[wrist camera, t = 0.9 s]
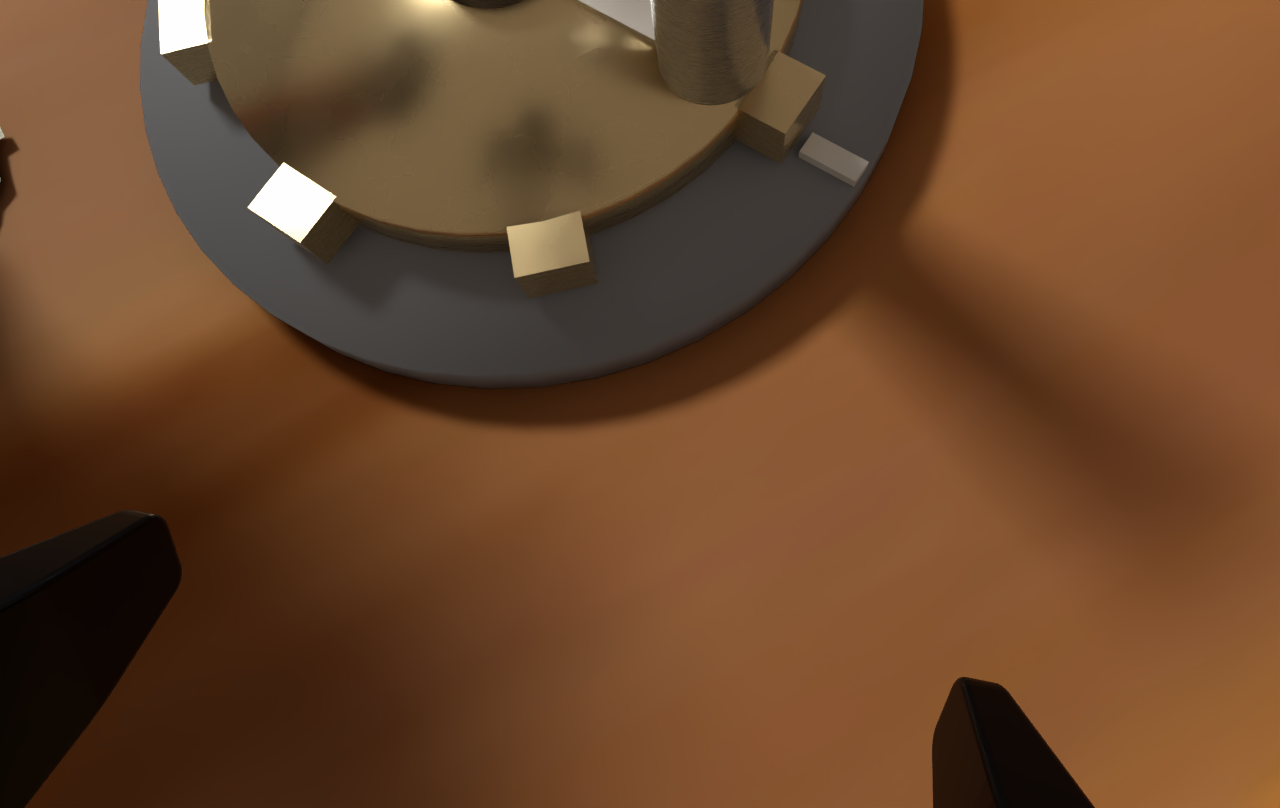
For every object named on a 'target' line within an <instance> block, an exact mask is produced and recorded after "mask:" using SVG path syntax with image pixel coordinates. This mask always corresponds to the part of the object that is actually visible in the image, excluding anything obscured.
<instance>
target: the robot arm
mask: <svg viewBox="0 0 1280 808" xmlns="http://www.w3.org/2000/svg"><path fill="white" fill-rule="evenodd" d="M181 576H182V567H181V563H180V560H179V557H178V554H177V551H176V548H175V545H174V542H173V539H172V536H171V533H170V530H169V527H168V525H167V523H166V521H165V520H164V519H163V518H162V517H161V516H159V515H156V514H151V513H146V512H141V511H136V510H122V511H119V512H116V513H113V514H111V515H108V516H106V517H103V518H101V519H98V520H95V521H93V522H90V523H88V524H85V525H82V526H80V527H77V528H75V529H72V530H70V531H67V532H64V533H62V534H59V535H57V536H54V537H52V538H49V539H46V540H44V541H41V542H39V543H36V544H33V545H31V546H28V547H26V548H23V549H21V550H18V551H15V552H13V553H10V554H8V555H5V556H3V557H0V808H25V806H26V805H27V804H28V802H29V801H30V800H31V799H32V797H33V796H34V795H35V793H36V792H37V791H38V790H39V788H40V787H41V786H42V784H43V783H44V782H45V780H46V779H47V778H48V777H49V775H50V774H51V773H52V771H53V770H54V769H55V767H56V766H57V765H58V764H59V762H60V761H61V760H62V758H63V757H64V756H65V755H66V753H67V752H68V751H69V749H70V748H71V747H72V745H73V744H74V743H75V742H76V740H77V739H78V738H79V736H80V735H81V734H82V732H83V731H84V730H85V729H86V727H87V726H88V725H89V723H90V722H91V721H92V719H93V718H94V716H95V715H96V714H97V712H98V711H99V710H100V708H101V707H102V705H103V704H104V702H105V701H106V699H107V698H108V696H109V695H110V693H111V692H112V690H113V689H114V688H115V686H116V684H117V683H118V681H119V680H120V678H121V677H122V675H123V673H124V672H125V670H126V669H127V667H128V666H129V664H130V662H131V661H132V659H133V658H134V656H135V655H136V653H137V651H138V650H139V648H140V647H141V645H142V644H143V642H144V640H145V639H146V637H147V636H148V634H149V633H150V631H151V629H152V628H153V626H154V625H155V623H156V622H157V620H158V618H159V617H160V615H161V614H162V612H163V611H164V609H165V607H166V606H167V604H168V603H169V601H170V600H171V598H172V596H173V595H174V593H175V592H176V590H177V588H178V586H179V583H180V581H181ZM932 770H933V808H1095V807H1094V806H1093V804H1092V803H1091V802H1090V800H1089V799H1088V798H1087V796H1086V795H1085V794H1084V792H1083V791H1082V790H1081V788H1080V787H1079V786H1078V784H1077V783H1076V782H1075V780H1074V779H1073V778H1072V776H1071V775H1070V774H1069V772H1068V771H1067V770H1066V768H1065V767H1064V766H1063V764H1062V763H1061V762H1060V760H1059V759H1058V758H1057V756H1056V755H1055V754H1054V752H1053V751H1052V750H1051V748H1050V747H1049V746H1048V744H1047V743H1046V742H1045V740H1044V739H1043V738H1042V736H1041V735H1040V734H1039V732H1038V731H1037V730H1036V728H1035V727H1034V726H1033V724H1032V723H1031V722H1030V720H1029V719H1028V718H1027V716H1026V715H1025V713H1024V712H1023V711H1022V709H1021V708H1020V707H1019V705H1018V704H1017V703H1016V701H1015V700H1014V699H1013V697H1012V696H1011V695H1010V693H1009V692H1008V691H1007V690H1006V689H1005V688H1004V687H1002V686H1001V685H999V684H997V683H993V682H988V681H983V680H978V679H973V678H968V677H961V678H958V679H957V680H956V681H955V683H954V684H953V686H952V688H951V691H950V693H949V696H948V698H947V701H946V703H945V705H944V708H943V710H942V713H941V715H940V718H939V720H938V722H937V725H936V728H935V731H934V736H933V745H932Z"/></svg>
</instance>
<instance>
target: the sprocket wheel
mask: <svg viewBox="0 0 1280 808" xmlns="http://www.w3.org/2000/svg"><path fill="white" fill-rule="evenodd" d="M158 1H159V25H160V50H161V55H162V56H163V57H164V58H165V59H166V60H168V61H169V62H170V63H171V64H172V65H173V66H174V67H175V68H176V69H177V70H178V71H179V72H180V73H181V74H182V75H183V76H185V77H186V78H187V79H188V80H189V81H190V82H191V83H192V84H193V85H194V86H195V85H199V84H203V83H207V82H211V81H216V80H218V81H219V83H220V85H221V87H222V89H223V91H224V93H225V96H226V98H227V100H228V102H229V104H230V106H231V108H232V110H233V111H234V113H235V114H236V116H237V117H238V119H239V120H240V121H241V123H242V124H243V126H244V127H245V129H246V130H247V132H248V133H249V134H250V136H251V137H252V138H253V139H254V141H255V142H256V143H257V144H258V145H259V146H260V147H261V148H262V149H263V150H264V151H265V152H266V153H267V154H268V155H269V156H270V157H271V158H272V159H273V160H274V161H275V162H276V163H277V164H278V165H279V166H280V168H279V169H278V170H277V171H276V173H275V174H274V175H273V176H272V178H271V179H270V180H269V181H268V183H267V184H266V185H265V186H264V188H263V189H262V190H261V191H260V193H259V194H258V195H257V196H256V198H255V199H254V200H253V201H252V203H251V204H250V205H249V206H248V208H249V209H250V210H251V211H253V212H254V213H255V214H256V215H258V216H259V217H260V218H261V219H263V220H264V221H265V222H266V223H268V224H269V225H270V226H272V227H273V228H274V229H275V230H277V231H278V232H279V233H281V234H282V235H284V236H285V237H287V238H288V239H290V240H291V241H293V242H294V243H296V244H297V245H299V246H300V247H302V248H303V249H305V250H306V251H308V252H309V253H311V254H312V255H314V256H315V257H317V258H318V259H320V260H321V261H323V262H324V263H326V264H327V265H328V264H329V262H330V261H331V260H332V258H333V257H334V256H335V255H336V253H337V252H338V251H339V249H340V248H341V247H342V246H343V244H344V243H345V242H346V240H347V239H348V238H349V237H350V235H351V234H352V233H353V231H354V230H355V229H356V227H357V226H358V225H359V226H361V227H363V228H365V229H368V230H371V231H373V232H376V233H379V234H381V235H384V236H387V237H389V238H392V239H395V240H397V241H401V242H406V243H410V244H414V245H419V246H423V247H428V248H432V249H438V250H449V251H459V252H470V253H486V252H510V253H511V259H512V265H513V272H514V278H515V279H516V281H517V282H518V284H519V285H520V287H521V288H522V290H523V291H524V293H525V294H526V295H527V297H528V298H533V297H537V296H542V295H547V294H551V293H556V292H561V291H565V290H570V289H574V288H579V287H584V286H588V285H593V284H598V277H597V272H596V267H595V261H594V256H593V250H592V245H591V240H590V235H593V234H596V233H599V232H601V231H603V230H606V229H608V228H611V227H613V226H615V225H618V224H620V223H623V222H625V221H627V220H630V219H632V218H634V217H636V216H638V215H640V214H642V213H643V212H645V211H647V210H649V209H650V208H652V207H654V206H656V205H657V204H659V203H661V202H663V201H664V200H666V199H668V198H670V197H671V196H673V195H674V194H675V193H677V192H678V191H679V190H681V189H682V188H683V187H685V186H686V185H687V184H689V183H690V182H692V181H693V180H694V179H696V178H697V177H698V176H700V175H701V174H702V173H704V172H705V171H706V170H707V169H708V168H709V167H710V166H711V165H712V164H713V163H714V162H715V161H716V160H717V159H718V158H719V157H720V156H722V155H723V154H724V153H725V152H726V151H727V150H728V149H729V148H730V147H731V146H732V145H733V144H734V143H735V142H736V140H738V141H740V142H742V143H743V144H745V145H747V146H749V147H751V148H753V149H754V150H756V151H758V152H760V153H762V154H764V155H766V156H767V157H769V158H771V159H773V160H775V161H777V162H778V163H780V164H782V162H783V161H784V159H785V158H786V156H787V155H788V153H789V152H790V151H791V149H792V148H793V146H794V145H795V143H796V142H797V140H798V139H799V138H800V136H801V135H802V133H803V132H804V130H805V129H806V127H807V126H808V125H809V123H810V122H811V120H812V119H813V117H814V116H815V114H816V113H817V112H818V110H819V108H820V103H821V98H822V93H823V88H824V83H825V78H826V75H824V74H822V73H820V72H818V71H816V70H814V69H812V68H810V67H808V66H807V65H805V64H803V63H801V62H799V61H797V60H795V59H793V58H791V57H789V54H790V52H791V50H792V47H793V44H794V40H795V36H796V33H797V29H798V25H799V21H800V18H801V14H802V8H803V1H804V0H158Z"/></svg>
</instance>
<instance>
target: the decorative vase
mask: <svg viewBox="0 0 1280 808" xmlns="http://www.w3.org/2000/svg"><path fill="white" fill-rule="evenodd" d="M3 137H5V136H4V134H3V132H2V130H1V128H0V139H2V138H3ZM0 182H1V179H0Z"/></svg>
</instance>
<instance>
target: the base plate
mask: <svg viewBox="0 0 1280 808" xmlns="http://www.w3.org/2000/svg"><path fill="white" fill-rule="evenodd" d="M923 3H924V0H804V1H803V8H802V14H801V18H800V21H799V25H798V29H797V33H796V36H795V40H794V44H793V47H792V50H791V52H790V54H789V57H791V58H793V59H795V60H797V61H799V62H801V63H803V64H805V65H807V66H808V67H810V68H812V69H814V70H816V71H818V72H820V73H822V74H824V75H826V78H825V83H824V88H823V93H822V98H821V103H820V108H819V110H818V112H817V113H816V114H815V116H814V117H813V119H812V120H811V122H810V123H809V125H808V126H807V127H806V129H805V130H804V132H803V133H802V135H801V136H800V138H799V139H798V140H797V142H796V143H795V145H794V146H793V148H792V149H791V151H790V152H789V153H788V155H787V156H786V158H785V159H784V161H783V162H782V164H780V163H778V162H777V161H775V160H773V159H771V158H769V157H767V156H766V155H764V154H762V153H760V152H758V151H756V150H754V149H753V148H751V147H749V146H747V145H745V144H743V143H742V142H740V141H738V140H736V142H735V143H734V144H733V145H732V146H731V147H730V148H729V149H728V150H727V151H726V152H725V153H724V154H723V155H722V156H720V157H719V158H718V159H717V160H716V161H715V162H714V163H713V164H712V165H711V166H710V167H709V168H708V169H707V170H706V171H705V172H704V173H702V174H701V175H700V176H698V177H697V178H696V179H694V180H693V181H692V182H690V183H689V184H687V185H686V186H685V187H683V188H682V189H681V190H679V191H678V192H677V193H675V194H674V195H673V196H671V197H670V198H668V199H666V200H664V201H663V202H661V203H659V204H657V205H656V206H654V207H652V208H650V209H649V210H647V211H645V212H643V213H642V214H640V215H638V216H636V217H634V218H632V219H630V220H627V221H625V222H623V223H620V224H618V225H615V226H613V227H611V228H608V229H606V230H603V231H601V232H599V233H596V234H593V235H590V240H591V245H592V250H593V256H594V261H595V267H596V272H597V277H598V284H593V285H588V286H584V287H579V288H574V289H570V290H565V291H561V292H556V293H551V294H547V295H542V296H537V297H533V298H528V297H527V295H526V294H525V293H524V291H523V290H522V288H521V287H520V285H519V284H518V282H517V281H516V279H515V278H514V272H513V265H512V259H511V253H510V252H486V253H470V252H459V251H449V250H438V249H432V248H428V247H423V246H419V245H414V244H410V243H406V242H401V241H397V240H395V239H392V238H389V237H387V236H384V235H381V234H379V233H376V232H373V231H371V230H368V229H365V228H363V227H361V226H359V225H358V226H357V227H356V229H355V230H354V231H353V233H352V234H351V235H350V237H349V238H348V239H347V240H346V242H345V243H344V244H343V246H342V247H341V248H340V249H339V251H338V252H337V253H336V255H335V256H334V257H333V258H332V260H331V261H330V262H329V264H328V265H327V264H326V263H324V262H323V261H321V260H320V259H318V258H317V257H315V256H314V255H312V254H311V253H309V252H308V251H306V250H305V249H303V248H302V247H300V246H299V245H297V244H296V243H294V242H293V241H291V240H290V239H288V238H287V237H285V236H284V235H282V234H281V233H279V232H278V231H277V230H275V229H274V228H273V227H272V226H270V225H269V224H268V223H266V222H265V221H264V220H263V219H261V218H260V217H259V216H258V215H256V214H255V213H254V212H253V211H251V210H250V209H249V208H248V206H249V205H250V204H251V203H252V201H253V200H254V199H255V198H256V196H257V195H258V194H259V193H260V191H261V190H262V189H263V188H264V186H265V185H266V184H267V183H268V181H269V180H270V179H271V178H272V176H273V175H274V174H275V173H276V171H277V170H278V169H279V168H280V166H279V165H278V164H277V163H276V162H275V161H274V160H273V159H272V158H271V157H270V156H269V155H268V154H267V153H266V152H265V151H264V150H263V149H262V148H261V147H260V146H259V145H258V144H257V143H256V142H255V141H254V139H253V138H252V137H251V136H250V134H249V133H248V132H247V130H246V129H245V127H244V126H243V124H242V123H241V121H240V120H239V119H238V117H237V116H236V114H235V113H234V111H233V110H232V108H231V106H230V104H229V102H228V100H227V98H226V96H225V93H224V91H223V89H222V87H221V85H220V83H219V81H218V80H216V81H211V82H207V83H203V84H199V85H195V86H194V85H193V84H192V83H191V82H190V81H189V80H188V79H187V78H186V77H185V76H183V75H182V74H181V73H180V72H179V71H178V70H177V69H176V68H175V67H174V66H173V65H172V64H171V63H170V62H169V61H168V60H166V59H165V58H164V57H163V56H162V55H161V50H160V25H159V1H158V0H148V3H147V9H146V16H145V22H144V28H143V35H142V41H141V67H140V91H141V98H142V106H143V114H144V122H145V129H146V134H147V137H148V141H149V144H150V147H151V151H152V154H153V158H154V161H155V165H156V168H157V172H158V174H159V176H160V179H161V181H162V183H163V185H164V187H165V189H166V191H167V194H168V196H169V198H170V200H171V202H172V204H173V207H174V209H175V211H176V213H177V214H178V216H179V217H180V219H181V220H182V222H183V223H184V225H185V226H186V228H187V229H188V231H189V232H190V234H191V235H192V237H193V238H194V240H195V241H196V243H197V244H198V246H199V247H200V249H201V250H202V251H203V252H204V253H205V254H206V255H207V257H208V258H209V259H210V260H211V261H212V262H213V263H214V264H215V265H216V266H217V267H218V268H219V269H220V271H221V272H222V273H223V274H224V275H225V276H226V277H227V278H228V279H229V280H230V281H231V282H232V283H233V284H234V285H235V286H236V287H237V288H239V289H240V290H241V291H242V292H244V293H245V294H246V295H248V296H249V297H250V298H251V299H253V300H254V301H255V302H256V303H258V304H259V305H260V306H261V307H263V308H264V309H265V310H267V311H268V312H269V313H270V314H272V315H273V316H275V317H277V318H278V319H280V320H282V321H284V322H285V323H287V324H289V325H290V326H292V327H294V328H295V329H297V330H299V331H300V332H302V333H304V334H306V335H307V336H309V337H311V338H313V339H315V340H316V341H318V342H320V343H322V344H323V345H325V346H327V347H329V348H330V349H332V350H334V351H336V352H337V353H339V354H341V355H344V356H347V357H349V358H352V359H354V360H357V361H359V362H362V363H364V364H367V365H370V366H372V367H375V368H377V369H380V370H382V371H385V372H389V373H393V374H397V375H401V376H406V377H410V378H414V379H418V380H422V381H427V382H431V383H435V384H445V385H455V386H465V387H476V388H486V389H493V388H523V387H544V386H550V385H556V384H562V383H568V382H574V381H581V380H587V379H593V378H597V377H601V376H604V375H608V374H611V373H614V372H618V371H621V370H624V369H628V368H631V367H635V366H638V365H641V364H645V363H648V362H651V361H653V360H655V359H658V358H660V357H662V356H664V355H667V354H669V353H671V352H673V351H676V350H678V349H680V348H683V347H685V346H687V345H689V344H692V343H694V342H696V341H699V340H701V339H702V338H704V337H706V336H707V335H709V334H711V333H712V332H714V331H716V330H717V329H719V328H721V327H722V326H724V325H726V324H727V323H729V322H731V321H732V320H734V319H736V318H737V317H739V316H741V315H742V314H744V313H746V312H747V311H749V310H750V309H751V308H753V307H754V306H755V305H756V304H758V303H759V302H760V301H761V300H763V299H764V298H765V297H767V296H768V295H769V294H770V293H772V292H773V291H774V290H775V289H777V288H778V287H779V286H781V285H782V284H783V283H784V282H786V281H787V280H788V279H789V278H791V277H792V276H793V275H794V274H795V273H796V271H797V270H798V269H799V268H800V267H801V266H802V265H803V264H804V263H805V262H806V261H807V260H808V259H809V258H810V257H811V256H812V255H813V254H814V253H815V252H816V251H817V250H818V249H819V248H820V247H821V246H822V245H823V244H824V243H825V242H826V241H827V240H828V239H829V237H830V236H831V235H832V233H833V232H834V230H835V229H836V228H837V226H838V225H839V224H840V222H841V221H842V220H843V218H844V217H845V216H846V214H847V213H848V212H849V210H850V209H851V208H852V206H853V205H854V204H855V202H856V201H857V200H858V198H859V197H860V195H861V193H862V191H863V189H864V188H865V186H866V184H867V182H868V180H869V178H870V177H871V175H872V173H873V171H874V169H875V168H876V166H877V164H878V162H879V160H880V158H881V157H882V155H883V153H884V150H885V147H886V145H887V142H888V139H889V137H890V134H891V131H892V129H893V126H894V123H895V121H896V118H897V115H898V113H899V110H900V107H901V105H902V102H903V99H904V97H905V94H906V91H907V88H908V86H909V83H910V80H911V78H912V74H913V69H914V64H915V60H916V55H917V50H918V45H919V41H920V36H921V31H922V22H923Z"/></svg>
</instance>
